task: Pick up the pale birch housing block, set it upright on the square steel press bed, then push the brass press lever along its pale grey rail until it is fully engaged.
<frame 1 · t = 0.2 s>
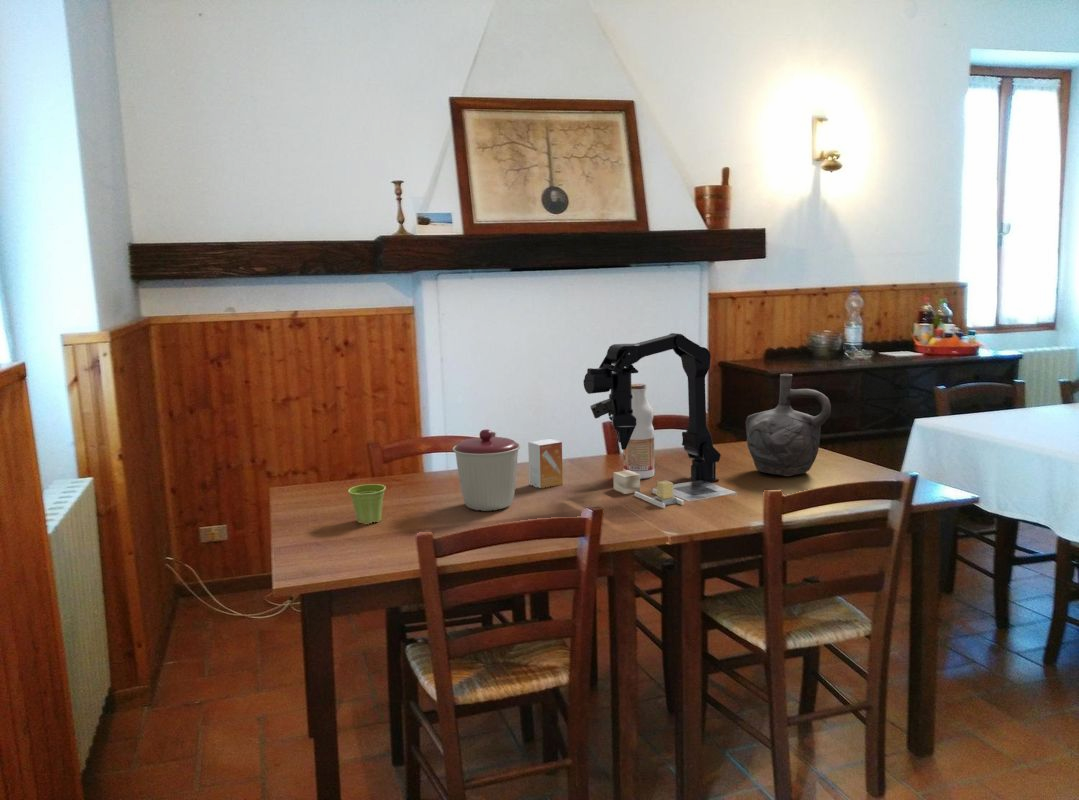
hand: (622, 445, 229), 14 cm above the table, tool pointing down, fingers open, 9 cm apart
small box: (546, 485, 243), on the table
plant pot: (369, 522, 212), on the table
canister: (488, 506, 223), on the table
vessel: (783, 474, 248), on the table
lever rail: (658, 504, 220), on the table
press bed: (695, 494, 228), on the table
fruit juice: (639, 476, 251), on the table
press lever: (665, 492, 216), point 4 cm above the table, slide at 0.0 cm
housing block: (626, 494, 231), on the table
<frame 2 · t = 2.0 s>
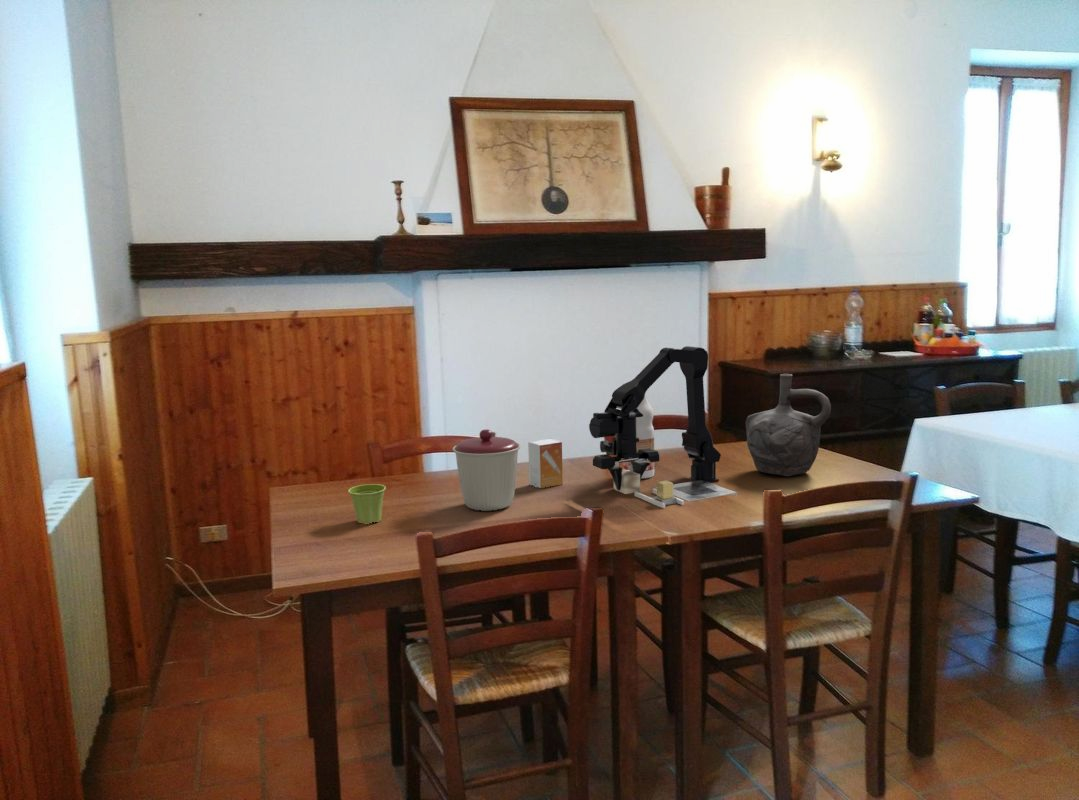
hand: (626, 488, 230), 2 cm above the table, tool pointing down, fingers closed on housing block, 5 cm apart
housing block: (626, 494, 231), on the table, touching gripper
everything else where it was.
when the fingers open (3 cm above the table, at t = 7.5 s): housing block stays where it is, resting on press bed.
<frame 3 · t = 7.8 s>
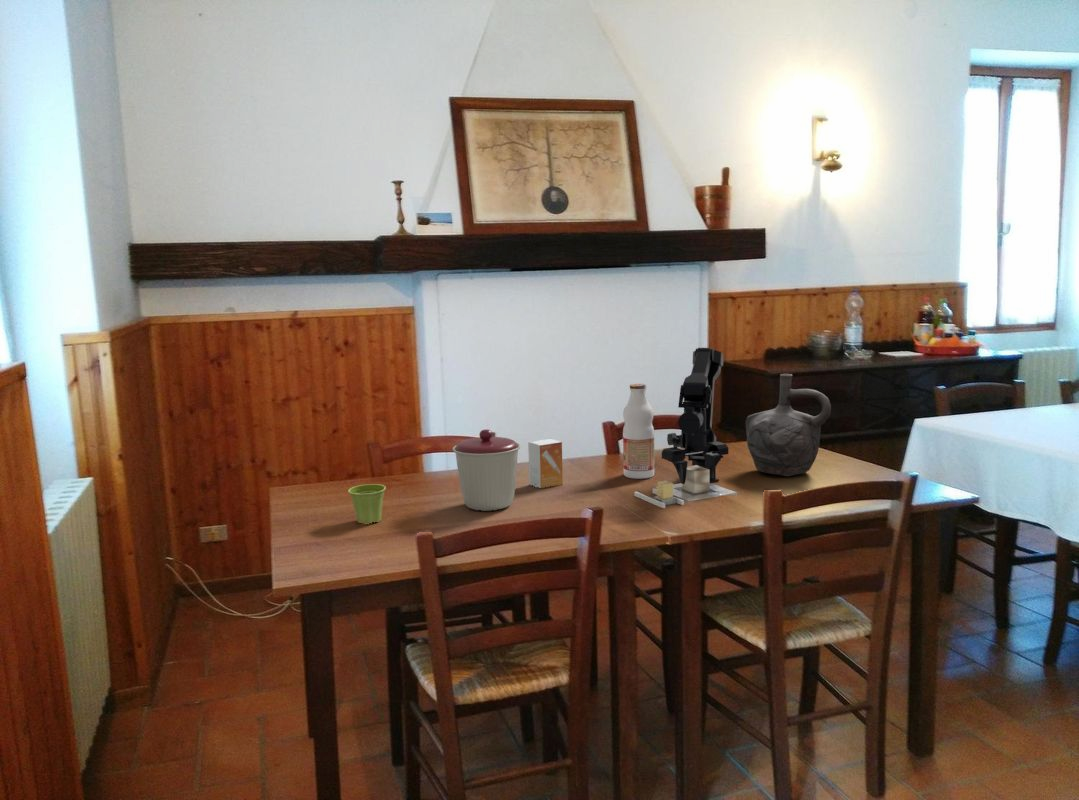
hand: (695, 481, 228), 3 cm above the table, tool pointing down, fingers open, 8 cm apart
housing block: (695, 489, 228), point 1 cm above the table, touching press bed
everything else where it was.
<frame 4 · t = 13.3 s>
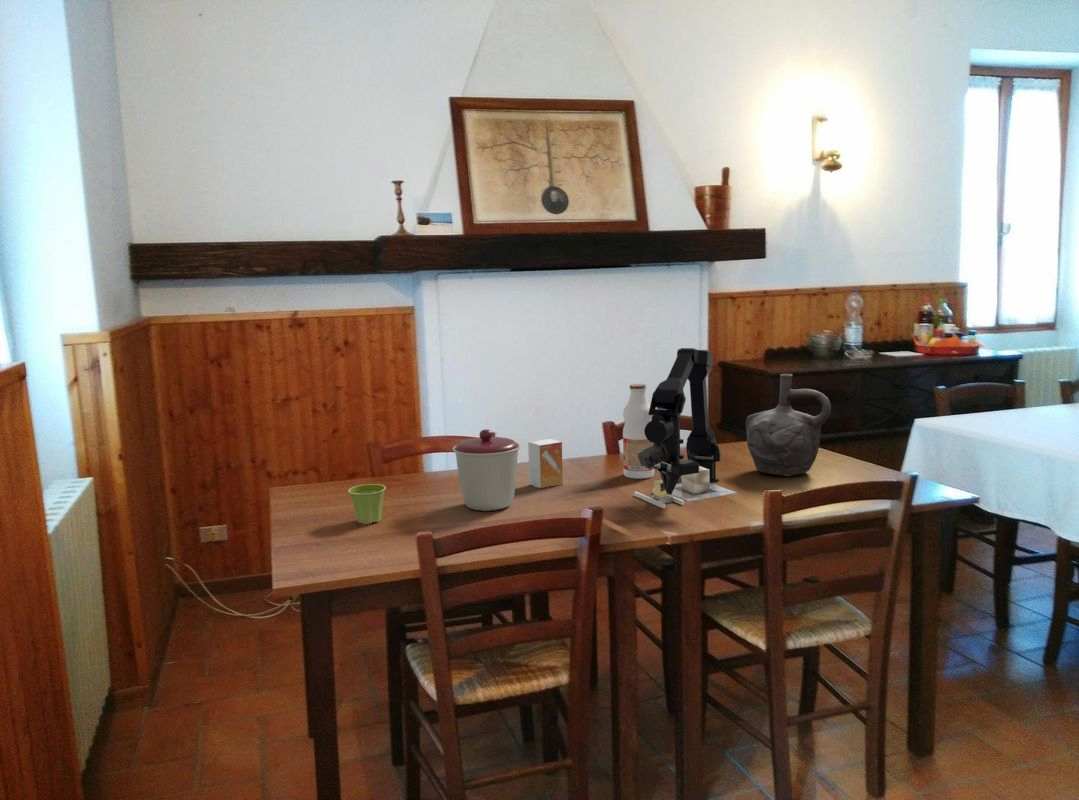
hand: (669, 494, 215), 4 cm above the table, tool pointing down, fingers closed
press lever: (661, 491, 218), point 4 cm above the table, slide at 1.4 cm, touching gripper
everything else where it was.
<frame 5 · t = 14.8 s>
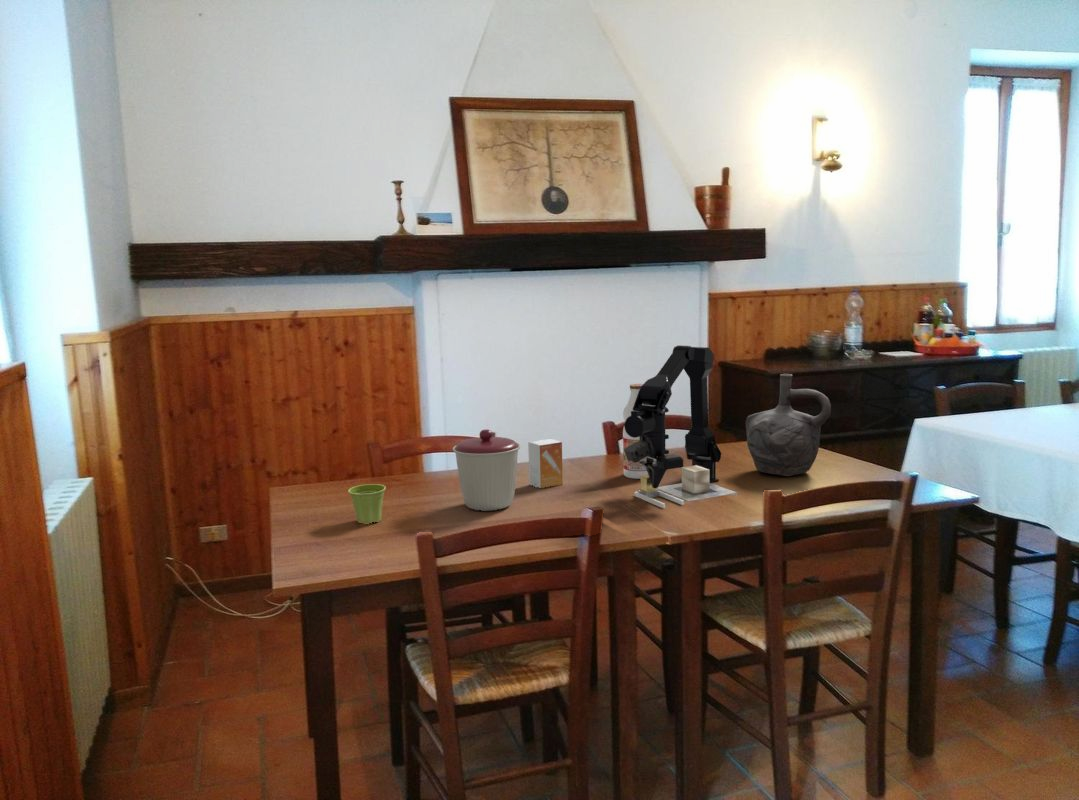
hand: (655, 488, 221), 4 cm above the table, tool pointing down, fingers closed
press lever: (648, 485, 224), point 4 cm above the table, slide at 8.0 cm, touching gripper
everything else where it was.
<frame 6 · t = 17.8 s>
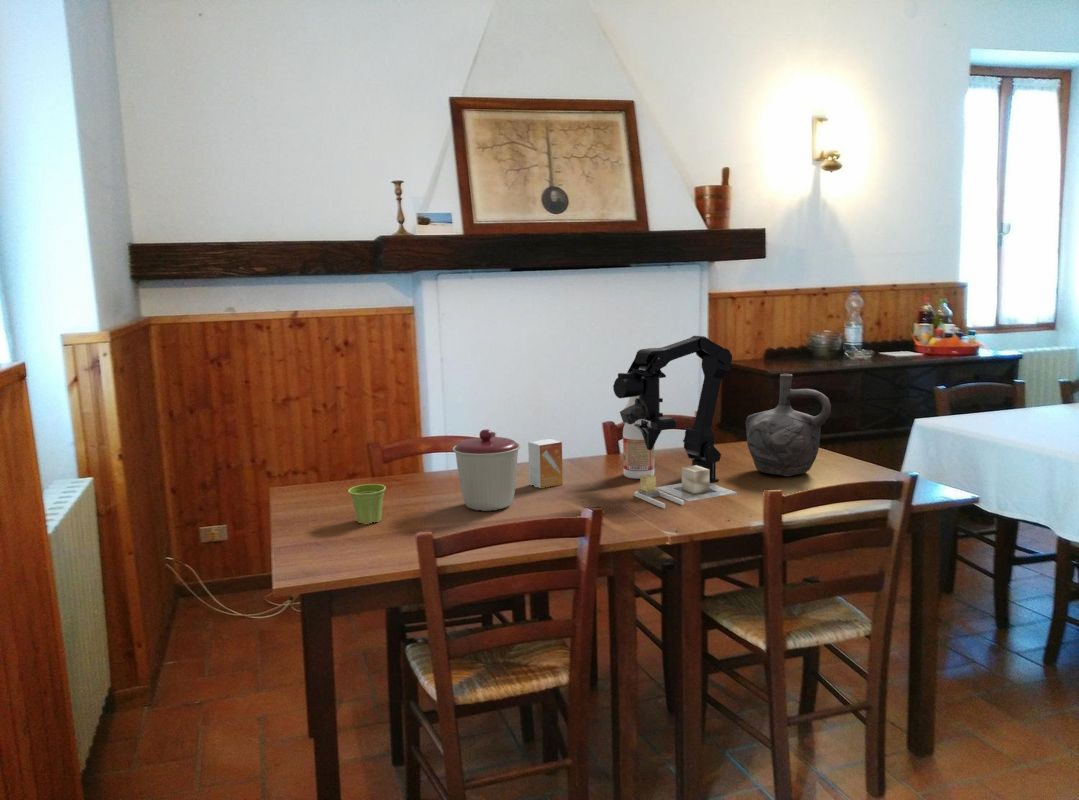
hand: (649, 449, 231), 12 cm above the table, tool pointing down, fingers closed
press lever: (648, 485, 224), point 4 cm above the table, slide at 8.1 cm
everything else where it was.
at the end: housing block inside the target area on the press bed (0.0 cm from its centre), point 1.3 cm above the press bed's base; housing block tilted 0°; press lever slide at 8.1 cm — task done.
